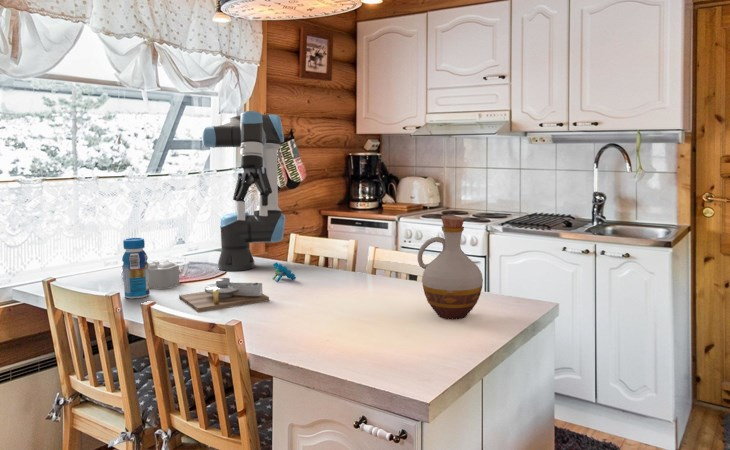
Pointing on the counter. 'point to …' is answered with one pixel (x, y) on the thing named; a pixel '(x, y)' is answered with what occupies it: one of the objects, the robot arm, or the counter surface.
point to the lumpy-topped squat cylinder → (163, 274)
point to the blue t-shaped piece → (282, 272)
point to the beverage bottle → (135, 269)
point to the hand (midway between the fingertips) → (252, 218)
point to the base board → (206, 300)
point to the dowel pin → (216, 297)
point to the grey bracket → (234, 287)
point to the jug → (451, 274)
